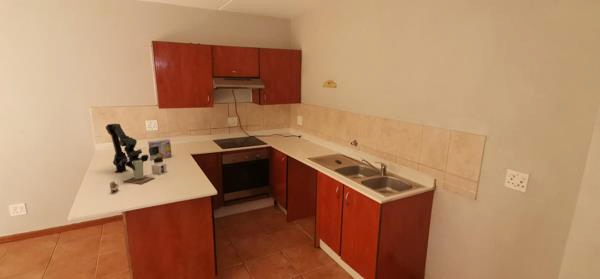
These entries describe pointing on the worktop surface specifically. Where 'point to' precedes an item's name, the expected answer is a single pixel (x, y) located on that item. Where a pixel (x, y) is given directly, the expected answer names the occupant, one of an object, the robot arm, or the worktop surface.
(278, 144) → the worktop surface
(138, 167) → the sage block
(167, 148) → the cake pan box
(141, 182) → the walnut board
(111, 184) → the architectural model
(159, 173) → the container
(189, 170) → the worktop surface
